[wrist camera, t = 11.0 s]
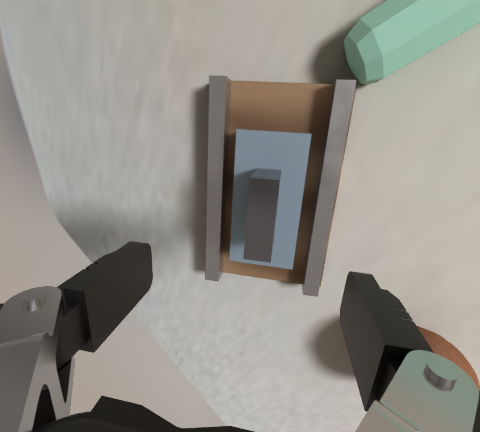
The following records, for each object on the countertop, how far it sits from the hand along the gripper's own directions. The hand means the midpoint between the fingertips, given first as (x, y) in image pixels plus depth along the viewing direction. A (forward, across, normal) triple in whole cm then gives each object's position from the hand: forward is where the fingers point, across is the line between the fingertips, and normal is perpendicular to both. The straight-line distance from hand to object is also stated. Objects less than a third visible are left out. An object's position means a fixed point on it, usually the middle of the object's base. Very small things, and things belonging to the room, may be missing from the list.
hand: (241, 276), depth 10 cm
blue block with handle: (+17, 0, 0) cm, 17 cm away
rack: (+18, 0, 0) cm, 18 cm away
